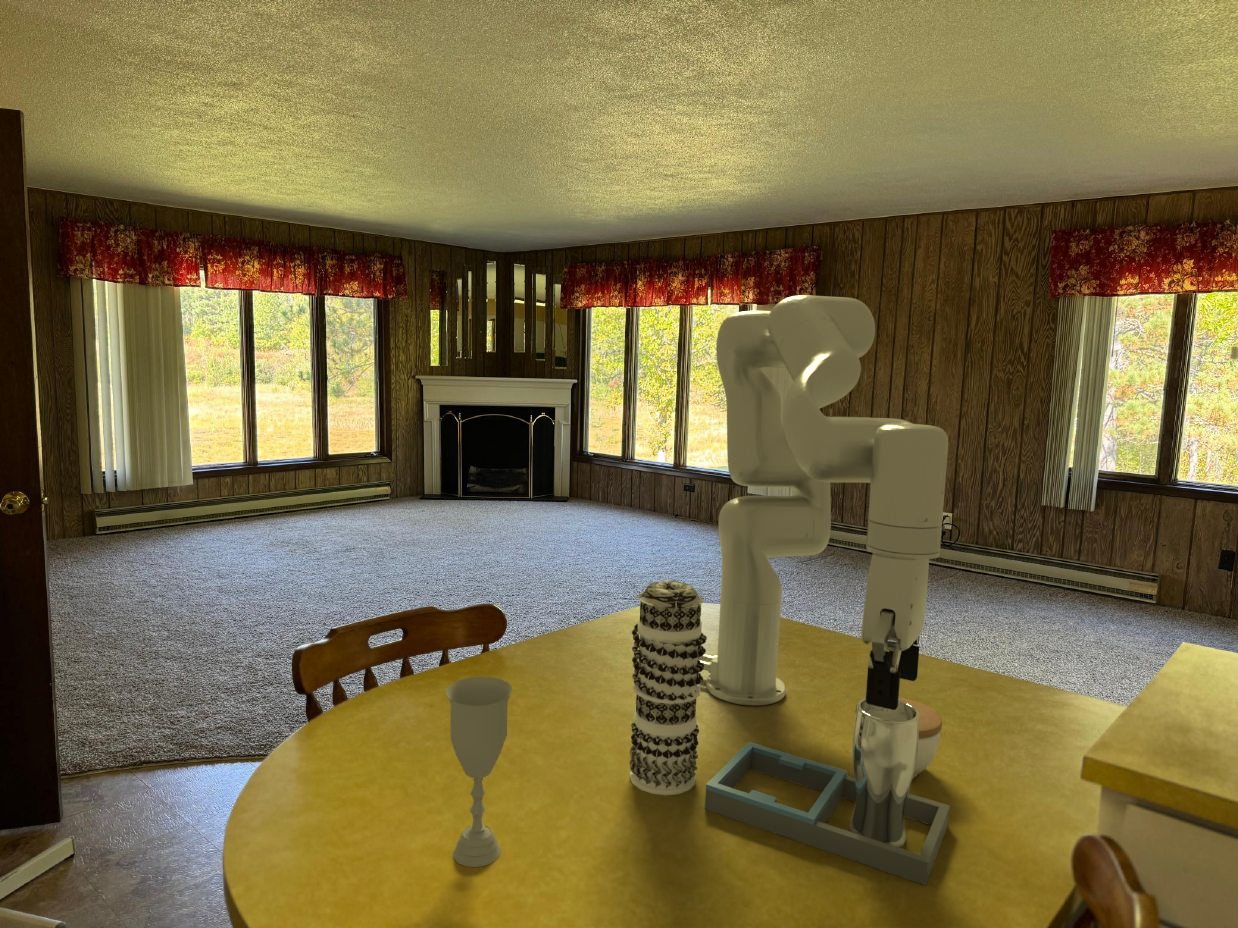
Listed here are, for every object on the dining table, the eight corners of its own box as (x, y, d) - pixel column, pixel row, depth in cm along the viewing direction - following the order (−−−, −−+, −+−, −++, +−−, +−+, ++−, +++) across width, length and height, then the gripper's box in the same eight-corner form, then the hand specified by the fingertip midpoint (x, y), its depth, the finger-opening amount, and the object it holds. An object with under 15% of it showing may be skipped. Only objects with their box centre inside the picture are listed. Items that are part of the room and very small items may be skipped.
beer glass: (914, 856, 89) (926, 726, 87) (847, 847, 90) (858, 718, 88) (905, 821, 96) (916, 699, 94) (843, 813, 97) (853, 692, 95)
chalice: (448, 832, 90) (450, 676, 88) (510, 831, 91) (514, 676, 89) (439, 874, 83) (441, 705, 81) (507, 872, 84) (510, 705, 81)
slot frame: (704, 808, 97) (706, 784, 97) (746, 763, 108) (748, 741, 108) (925, 885, 84) (928, 857, 84) (947, 825, 95) (950, 800, 95)
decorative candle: (667, 805, 97) (677, 602, 94) (611, 776, 103) (618, 584, 100) (713, 778, 104) (724, 587, 101) (658, 752, 110) (666, 571, 107)
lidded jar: (840, 771, 107) (845, 702, 106) (866, 740, 116) (871, 677, 115) (925, 798, 101) (931, 726, 100) (945, 764, 110) (952, 697, 109)
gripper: (886, 523, 98) (876, 661, 100) (846, 547, 83) (835, 709, 85) (953, 531, 94) (942, 675, 96) (923, 558, 79) (910, 727, 81)
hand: (892, 691), depth 90 cm, fingers open, 9 cm apart
